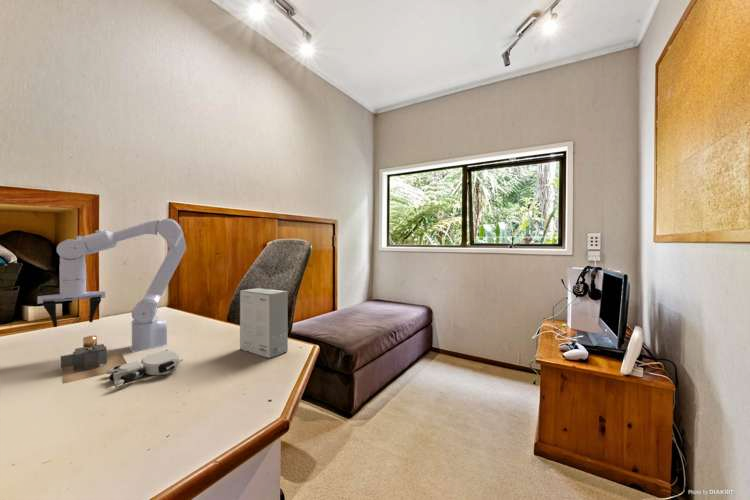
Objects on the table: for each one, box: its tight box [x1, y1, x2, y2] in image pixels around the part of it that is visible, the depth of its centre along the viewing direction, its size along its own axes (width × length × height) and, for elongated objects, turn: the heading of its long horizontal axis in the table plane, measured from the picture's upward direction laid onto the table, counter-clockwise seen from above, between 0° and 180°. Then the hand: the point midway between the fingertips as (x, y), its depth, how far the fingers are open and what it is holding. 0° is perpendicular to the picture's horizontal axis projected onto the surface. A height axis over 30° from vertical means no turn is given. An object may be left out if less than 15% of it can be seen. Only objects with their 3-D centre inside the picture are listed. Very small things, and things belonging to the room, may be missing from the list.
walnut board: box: [61, 351, 127, 385], centre depth 86 cm, size 13×18×1 cm
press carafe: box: [60, 343, 108, 371], centre depth 85 cm, size 9×7×5 cm
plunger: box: [82, 335, 98, 350], centre depth 86 cm, size 5×5×7 cm
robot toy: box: [105, 348, 184, 386], centre depth 81 cm, size 12×4×15 cm
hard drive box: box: [239, 287, 289, 359], centre depth 101 cm, size 16×8×20 cm, turn 58°
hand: (73, 324), depth 93 cm, fingers open, 7 cm apart
